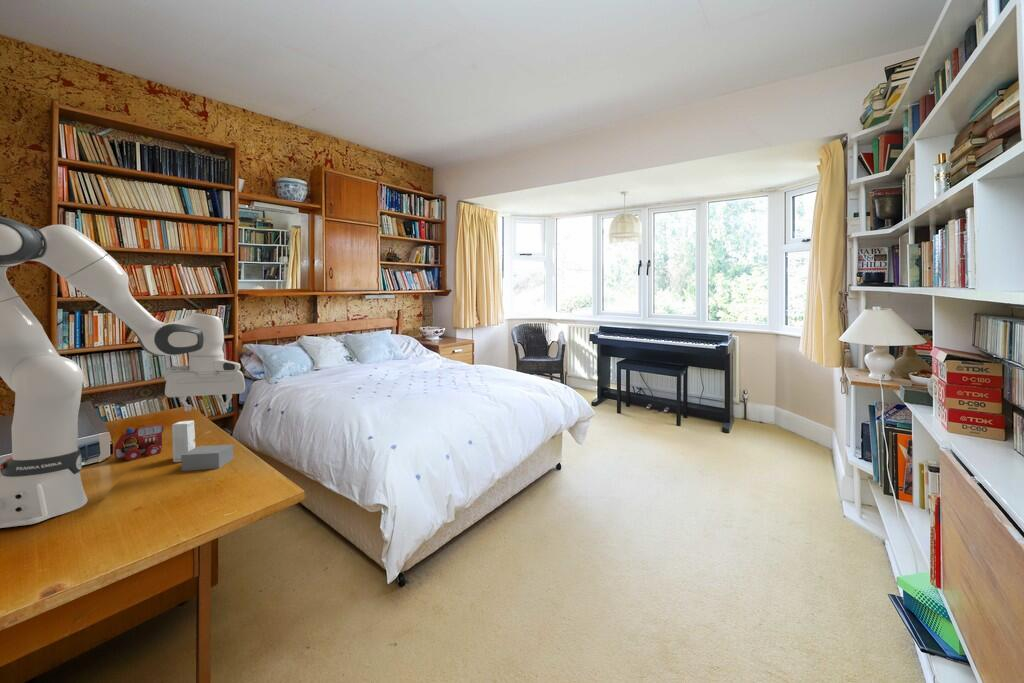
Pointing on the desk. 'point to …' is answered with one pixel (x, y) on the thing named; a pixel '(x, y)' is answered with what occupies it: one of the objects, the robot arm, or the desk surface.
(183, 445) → the skincare box
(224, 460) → the gray riser
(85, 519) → the desk surface
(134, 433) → the toy fire truck
